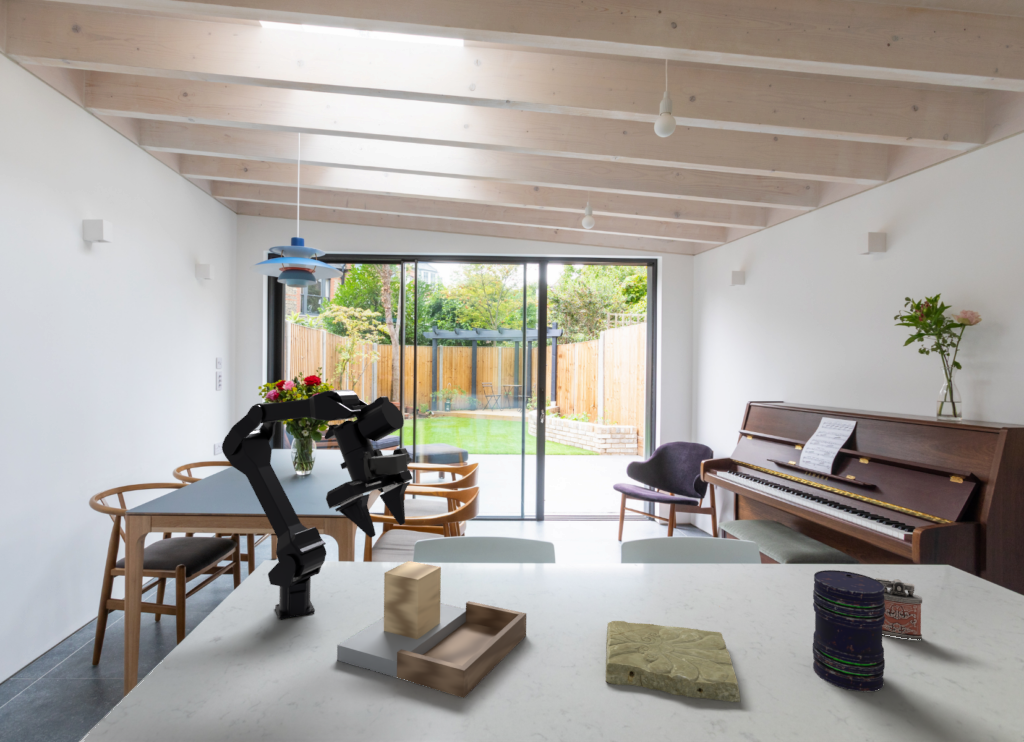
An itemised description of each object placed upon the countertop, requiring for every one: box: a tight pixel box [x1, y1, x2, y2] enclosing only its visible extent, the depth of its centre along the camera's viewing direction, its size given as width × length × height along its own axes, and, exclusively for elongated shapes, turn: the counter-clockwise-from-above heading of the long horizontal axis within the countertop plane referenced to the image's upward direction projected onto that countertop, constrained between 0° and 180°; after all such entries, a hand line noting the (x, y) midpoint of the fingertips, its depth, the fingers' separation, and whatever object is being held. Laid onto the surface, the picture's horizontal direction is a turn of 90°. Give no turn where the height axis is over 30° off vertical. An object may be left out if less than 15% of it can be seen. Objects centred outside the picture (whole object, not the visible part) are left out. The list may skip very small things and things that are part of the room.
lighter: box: [874, 577, 923, 640], centre depth 104 cm, size 8×3×10 cm, turn 65°
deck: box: [336, 602, 466, 678], centre depth 100 cm, size 12×22×2 cm, turn 154°
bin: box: [397, 600, 527, 699], centre depth 95 cm, size 12×22×4 cm, turn 154°
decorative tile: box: [605, 620, 741, 703], centre depth 93 cm, size 19×20×4 cm
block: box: [383, 560, 442, 639], centre depth 100 cm, size 7×7×10 cm
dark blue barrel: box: [812, 569, 886, 693], centre depth 90 cm, size 10×10×15 cm
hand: (388, 530), depth 104 cm, fingers open, 9 cm apart
